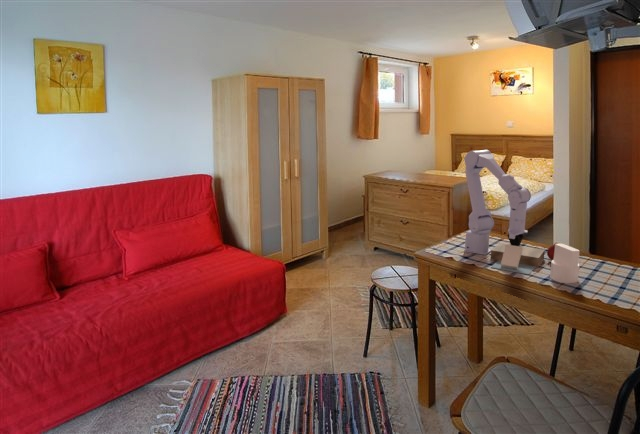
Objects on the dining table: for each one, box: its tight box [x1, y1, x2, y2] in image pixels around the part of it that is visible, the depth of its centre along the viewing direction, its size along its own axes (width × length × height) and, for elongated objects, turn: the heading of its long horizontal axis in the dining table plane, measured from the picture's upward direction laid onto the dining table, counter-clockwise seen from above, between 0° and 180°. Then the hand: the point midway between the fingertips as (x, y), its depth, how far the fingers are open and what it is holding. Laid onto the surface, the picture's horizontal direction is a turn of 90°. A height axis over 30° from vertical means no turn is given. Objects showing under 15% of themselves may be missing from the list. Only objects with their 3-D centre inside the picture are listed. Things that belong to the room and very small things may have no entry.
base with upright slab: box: [549, 243, 581, 284], centre depth 160 cm, size 9×9×12 cm
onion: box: [546, 242, 559, 261], centre depth 178 cm, size 6×6×8 cm
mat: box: [490, 260, 536, 276], centre depth 174 cm, size 14×10×1 cm
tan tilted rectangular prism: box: [501, 244, 523, 269], centre depth 174 cm, size 6×9×2 cm
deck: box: [490, 242, 546, 269], centre depth 183 cm, size 18×12×4 cm, turn 54°
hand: (514, 251), depth 177 cm, fingers closed
